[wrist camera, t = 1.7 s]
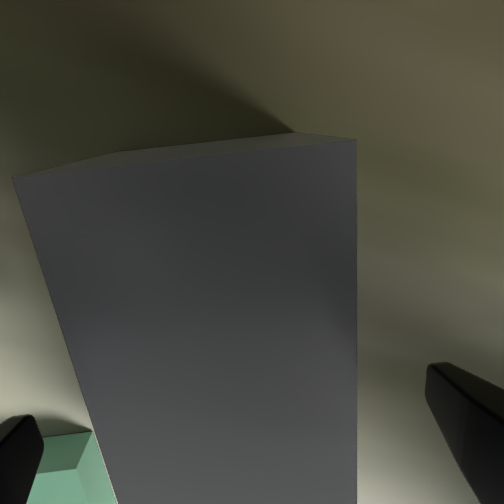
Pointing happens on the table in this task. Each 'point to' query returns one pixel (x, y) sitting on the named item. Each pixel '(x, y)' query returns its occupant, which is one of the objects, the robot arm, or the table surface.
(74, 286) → the block
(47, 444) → the green peg board
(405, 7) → the table surface
